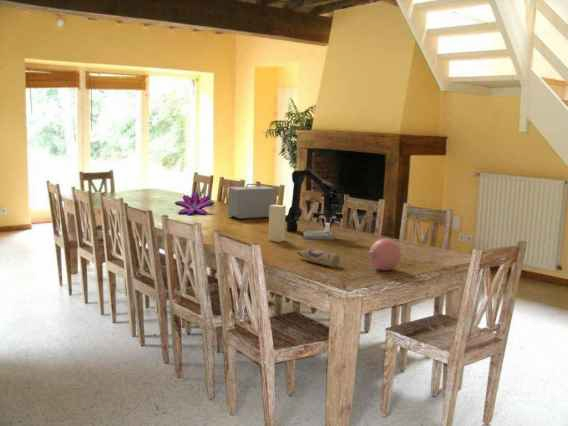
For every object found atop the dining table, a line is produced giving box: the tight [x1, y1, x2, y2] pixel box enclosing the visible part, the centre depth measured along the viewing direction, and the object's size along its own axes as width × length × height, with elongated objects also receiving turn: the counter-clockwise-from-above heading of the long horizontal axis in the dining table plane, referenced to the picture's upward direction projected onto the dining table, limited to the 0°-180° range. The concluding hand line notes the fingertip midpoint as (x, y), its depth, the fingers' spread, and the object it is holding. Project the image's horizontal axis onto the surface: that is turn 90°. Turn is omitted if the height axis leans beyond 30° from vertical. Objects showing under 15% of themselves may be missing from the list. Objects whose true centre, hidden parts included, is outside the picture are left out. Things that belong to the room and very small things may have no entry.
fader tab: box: [322, 222, 331, 233], centre depth 367 cm, size 4×5×6 cm
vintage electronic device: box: [227, 183, 278, 221], centre depth 433 cm, size 32×18×25 cm, turn 121°
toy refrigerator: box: [267, 204, 287, 243], centre depth 350 cm, size 8×7×21 cm
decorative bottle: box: [296, 248, 341, 269], centre depth 298 cm, size 26×8×7 cm, turn 44°
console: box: [302, 230, 335, 240], centre depth 367 cm, size 18×16×3 cm
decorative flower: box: [174, 191, 215, 216], centre depth 447 cm, size 31×31×10 cm
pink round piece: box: [366, 238, 402, 271], centre depth 285 cm, size 15×20×15 cm
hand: (327, 228), depth 367 cm, fingers closed on fader tab, 3 cm apart
